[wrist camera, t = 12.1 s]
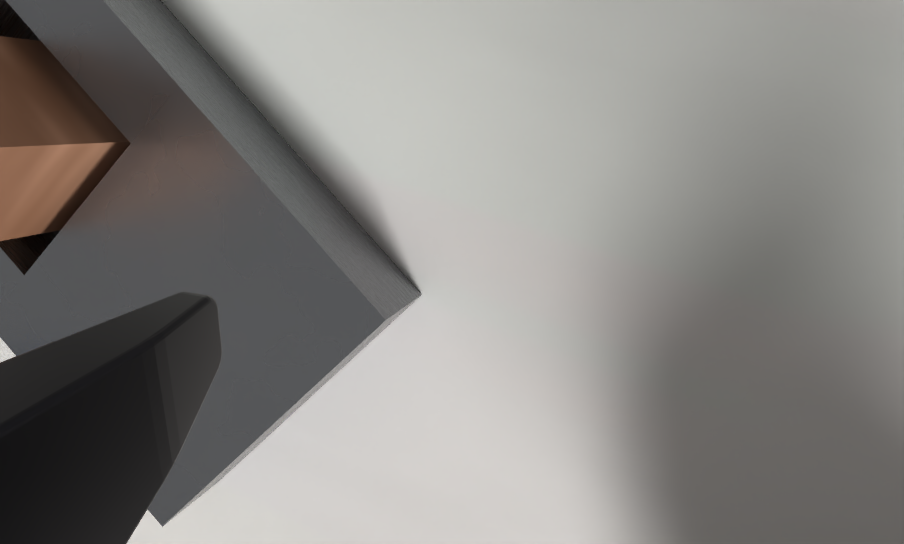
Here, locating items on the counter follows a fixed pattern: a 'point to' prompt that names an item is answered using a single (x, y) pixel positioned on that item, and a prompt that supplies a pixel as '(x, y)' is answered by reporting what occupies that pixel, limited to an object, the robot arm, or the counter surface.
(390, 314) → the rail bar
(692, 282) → the counter surface
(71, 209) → the square peg
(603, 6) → the counter surface
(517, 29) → the counter surface
